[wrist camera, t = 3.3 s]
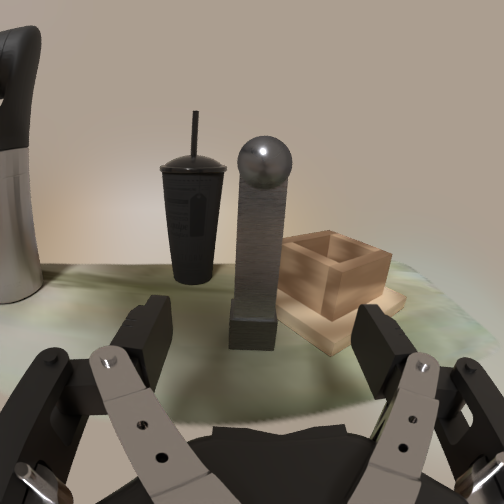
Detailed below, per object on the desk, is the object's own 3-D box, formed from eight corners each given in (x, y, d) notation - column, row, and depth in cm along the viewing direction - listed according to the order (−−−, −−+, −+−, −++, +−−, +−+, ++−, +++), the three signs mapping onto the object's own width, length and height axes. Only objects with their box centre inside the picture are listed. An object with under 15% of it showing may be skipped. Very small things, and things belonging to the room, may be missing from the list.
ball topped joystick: (228, 348, 24) (237, 134, 18) (230, 326, 27) (239, 136, 21) (273, 350, 24) (296, 138, 18) (271, 327, 27) (288, 139, 21)
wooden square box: (239, 290, 33) (241, 236, 31) (320, 267, 41) (326, 223, 39) (330, 356, 23) (347, 289, 21) (403, 307, 31) (417, 257, 29)
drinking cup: (233, 272, 38) (241, 113, 31) (202, 296, 32) (206, 104, 25) (186, 260, 41) (188, 115, 34) (150, 280, 34) (147, 110, 27)
